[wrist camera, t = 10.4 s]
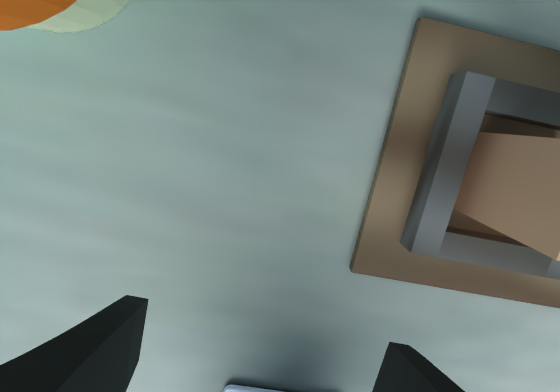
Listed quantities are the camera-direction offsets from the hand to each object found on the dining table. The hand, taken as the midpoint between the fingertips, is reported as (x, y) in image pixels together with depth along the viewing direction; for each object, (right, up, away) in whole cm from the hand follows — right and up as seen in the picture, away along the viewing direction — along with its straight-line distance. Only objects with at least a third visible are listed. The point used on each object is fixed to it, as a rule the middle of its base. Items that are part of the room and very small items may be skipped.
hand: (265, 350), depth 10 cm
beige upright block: (+13, +5, +9) cm, 17 cm away
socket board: (+13, +6, +10) cm, 17 cm away
